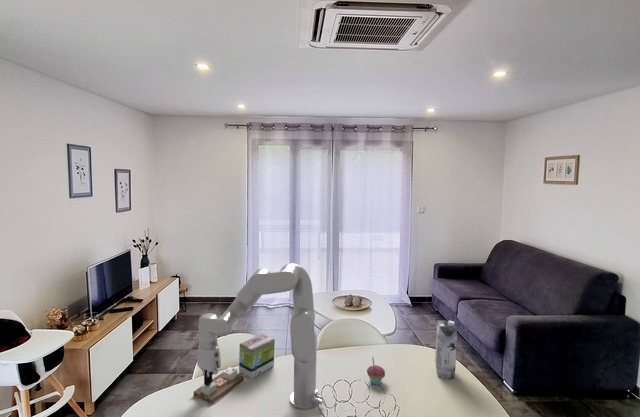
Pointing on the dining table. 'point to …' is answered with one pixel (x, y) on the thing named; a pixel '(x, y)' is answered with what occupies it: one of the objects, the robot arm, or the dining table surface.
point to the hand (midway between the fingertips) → (208, 383)
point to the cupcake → (375, 373)
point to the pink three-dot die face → (220, 382)
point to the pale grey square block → (208, 388)
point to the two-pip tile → (230, 373)
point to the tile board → (219, 389)
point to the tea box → (256, 355)
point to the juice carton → (446, 349)
